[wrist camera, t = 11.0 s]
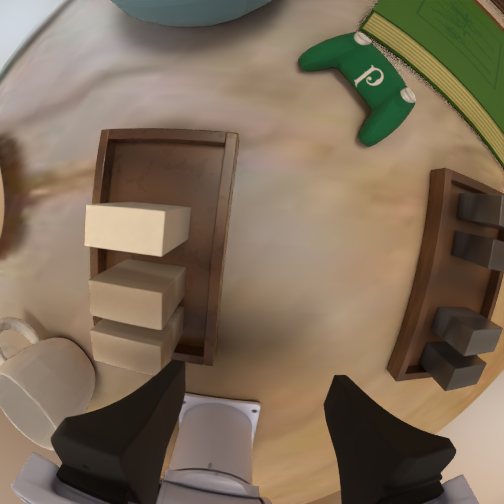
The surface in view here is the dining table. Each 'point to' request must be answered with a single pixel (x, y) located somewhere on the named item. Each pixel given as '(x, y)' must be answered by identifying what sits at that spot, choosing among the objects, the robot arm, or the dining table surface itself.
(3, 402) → the mug
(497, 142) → the hardcover book
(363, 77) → the gaming controller
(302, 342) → the dining table surface
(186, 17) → the vase
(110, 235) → the cream rectangular block
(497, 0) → the book
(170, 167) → the brown wooden tray
